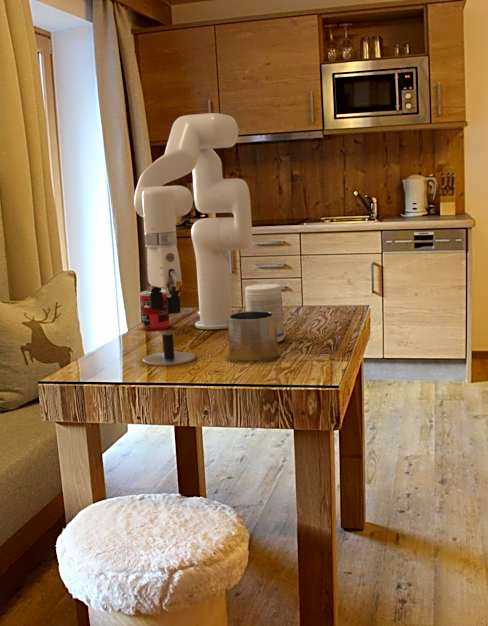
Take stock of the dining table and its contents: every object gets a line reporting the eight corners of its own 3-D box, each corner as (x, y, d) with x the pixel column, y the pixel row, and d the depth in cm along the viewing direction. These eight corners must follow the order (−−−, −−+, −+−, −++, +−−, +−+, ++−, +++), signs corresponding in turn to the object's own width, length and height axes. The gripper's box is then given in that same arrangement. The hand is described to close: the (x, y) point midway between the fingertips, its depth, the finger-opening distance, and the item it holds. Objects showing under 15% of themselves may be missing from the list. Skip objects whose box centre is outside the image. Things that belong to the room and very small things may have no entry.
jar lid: (135, 361, 205) (133, 333, 204) (181, 353, 211) (179, 326, 210) (156, 371, 194) (153, 342, 193) (204, 362, 200) (202, 334, 198)
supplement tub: (291, 340, 217) (289, 285, 215) (263, 346, 212) (260, 290, 210) (268, 335, 226) (265, 282, 223) (240, 341, 220) (237, 287, 218)
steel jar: (221, 357, 204) (218, 315, 202) (261, 350, 209) (259, 309, 207) (244, 366, 194) (242, 322, 192) (286, 358, 199) (284, 315, 197)
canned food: (142, 326, 250) (139, 290, 248) (169, 324, 250) (166, 288, 248) (143, 331, 242) (140, 294, 240) (170, 329, 243) (167, 292, 241)
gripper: (190, 240, 191) (195, 313, 194) (160, 237, 206) (164, 305, 209) (161, 243, 188) (166, 317, 191) (132, 239, 203) (137, 308, 206)
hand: (165, 310), depth 200 cm, fingers open, 9 cm apart
